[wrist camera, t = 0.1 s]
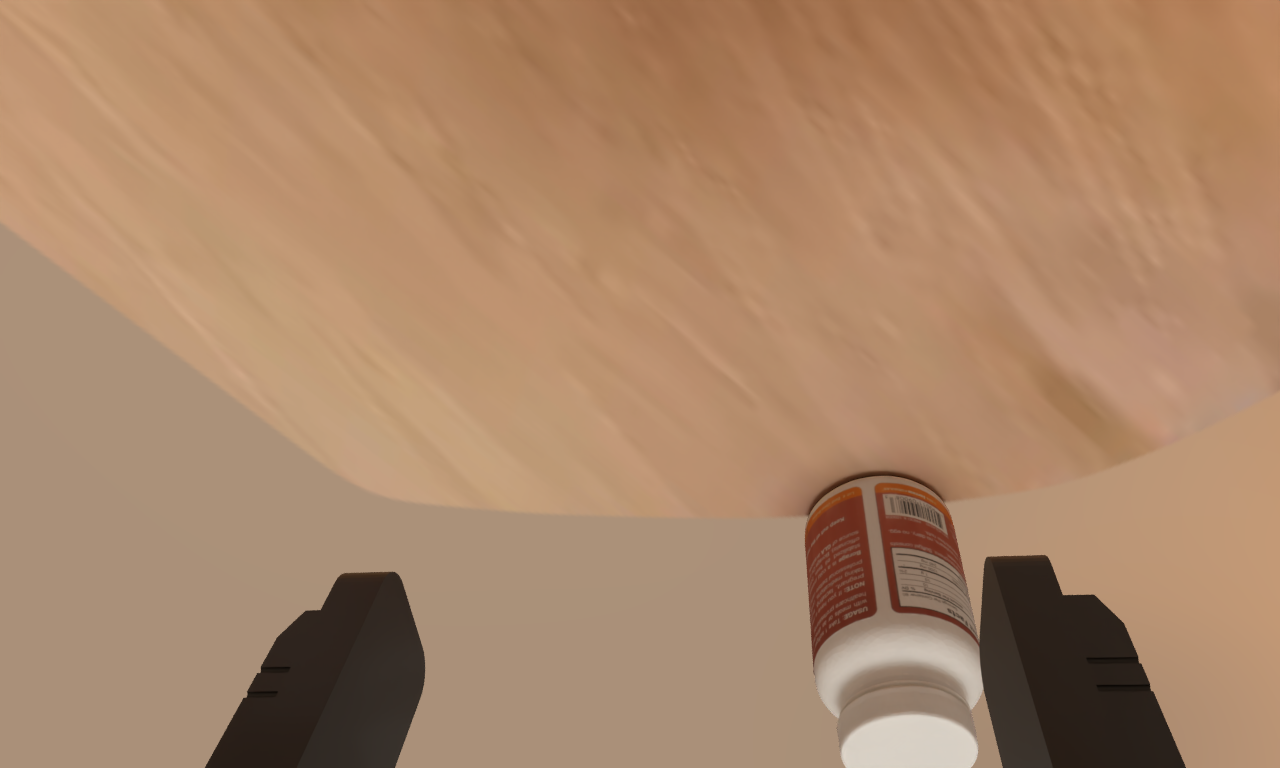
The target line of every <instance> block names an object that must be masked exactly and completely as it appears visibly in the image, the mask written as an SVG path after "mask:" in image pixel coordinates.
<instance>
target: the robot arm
mask: <svg viewBox="0 0 1280 768" xmlns="http://www.w3.org/2000/svg"><path fill="white" fill-rule="evenodd" d="M979 651H980V667H981V675H982V682H983V688H984V692H985V696H986V701H987V704H988V709H989V712H990V717H991V721H992V725H993V729H994V733H995V737H996V741H997V745H998V749H999V753H1000V757H1001V762H1002V766H1003V768H1186V767H1185V764H1184V762H1183V760H1182V757H1181V755H1180V753H1179V751H1178V749H1177V746H1176V743H1175V741H1174V739H1173V736H1172V734H1171V732H1170V729H1169V727H1168V725H1167V722H1166V720H1165V718H1164V716H1163V713H1162V711H1161V709H1160V706H1159V704H1158V702H1157V699H1156V697H1155V694H1154V692H1153V691H1151V689H1150V683H1149V681H1148V678H1147V676H1146V674H1145V671H1144V669H1143V667H1142V664H1139V661H1138V655H1137V653H1136V650H1135V648H1134V646H1133V643H1132V641H1131V639H1130V636H1129V634H1128V632H1127V629H1126V627H1125V625H1124V623H1123V622H1122V621H1121V620H1120V619H1119V618H1118V617H1117V616H1116V615H1115V614H1114V613H1113V612H1111V610H1109V609H1108V608H1107V607H1106V606H1105V605H1104V604H1103V603H1102V602H1101V601H1100V600H1099V599H1098V598H1097V597H1096V596H1095V595H1063V594H1062V592H1061V589H1060V586H1059V584H1058V581H1057V578H1056V575H1055V573H1054V570H1053V567H1052V565H1051V563H1050V560H1049V558H1048V557H1047V556H1045V555H1034V556H1000V557H999V556H998V557H987V558H986V560H985V564H984V576H983V592H982V608H981V625H980V642H979ZM424 679H425V658H424V651H423V648H422V644H421V641H420V638H419V634H418V631H417V628H416V625H415V622H414V618H413V615H412V612H411V609H410V606H409V602H408V599H407V596H406V592H405V590H404V586H403V583H402V580H401V578H400V576H399V575H398V574H397V573H395V572H370V573H344V574H342V575H340V576H339V577H338V578H337V580H336V582H335V584H334V585H333V587H332V589H331V591H330V593H329V595H328V597H327V599H326V601H325V603H324V605H323V607H322V609H321V610H317V611H315V610H313V611H305V612H304V613H303V614H302V615H301V616H300V617H298V618H297V619H296V620H295V621H294V622H293V623H292V624H291V625H290V626H289V627H288V628H287V629H286V630H285V631H284V632H282V634H280V635H279V636H278V637H277V639H276V641H275V642H274V644H273V646H272V648H271V650H270V651H269V653H268V655H267V657H266V659H265V660H264V662H263V664H262V666H261V673H257V675H256V677H255V678H254V680H253V682H252V684H251V686H250V688H249V689H248V691H247V693H248V695H247V698H243V700H242V702H241V704H240V706H239V707H238V709H237V711H236V713H235V714H234V716H233V718H232V720H231V722H230V723H229V725H228V727H227V729H226V731H225V732H224V735H223V736H222V738H221V740H220V742H219V743H218V745H217V747H216V749H215V750H214V752H213V754H212V756H211V758H210V759H209V761H208V763H207V765H206V767H205V768H395V766H396V763H397V760H398V757H399V755H400V752H401V749H402V747H403V744H404V741H405V738H406V735H407V733H408V730H409V728H410V724H411V722H412V719H413V716H414V714H415V711H416V708H417V706H418V703H419V700H420V697H421V694H422V690H423V686H424Z"/></svg>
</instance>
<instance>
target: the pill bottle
mask: <svg viewBox="0 0 1280 768" xmlns="http://www.w3.org/2000/svg"><path fill="white" fill-rule="evenodd" d="M805 548H806V562H807V577H808V592H809V608H810V623H811V637H812V654H813V667H814V671H813V672H814V675H815V682H816V687H817V690H818V693H819V696H820V698H821V699H822V701H823V703H824V704H825V705H826V707H827V708H828V709H829V711H830V712H831V713H832V714H833V715H834V716H836V717H837V718H838V723H837V732H838V738H839V747H840V755H841V759H842V761H843V763H844V765H845V767H846V768H971V767H972V766H973V764H974V762H975V761H976V758H977V755H978V742H977V736H976V730H975V726H974V721H973V717H972V712H971V710H972V708H973V707H974V706H975V705H976V703H977V701H978V700H979V698H980V696H981V693H982V691H983V682H982V675H981V667H980V651H979V639H978V635H977V631H976V626H975V621H974V616H973V612H972V608H971V603H970V598H969V594H968V589H967V584H966V580H965V575H964V571H963V567H962V562H961V557H960V552H959V548H958V543H957V539H956V534H955V529H954V525H953V522H952V519H951V515H950V513H949V510H948V508H947V507H946V505H945V504H944V502H943V501H942V500H941V499H940V498H939V497H938V496H937V495H936V494H935V493H934V492H933V491H931V490H930V489H928V488H927V487H925V486H923V485H921V484H919V483H917V482H914V481H912V480H909V479H905V478H901V477H895V476H873V477H866V478H861V479H857V480H853V481H850V482H848V483H845V484H843V485H841V486H839V487H837V488H835V489H834V490H832V491H830V492H829V493H828V494H826V495H825V496H824V497H823V498H821V499H820V500H819V501H818V503H817V504H816V505H815V506H814V508H813V509H812V511H811V513H810V515H809V517H808V520H807V523H806V529H805Z"/></svg>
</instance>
